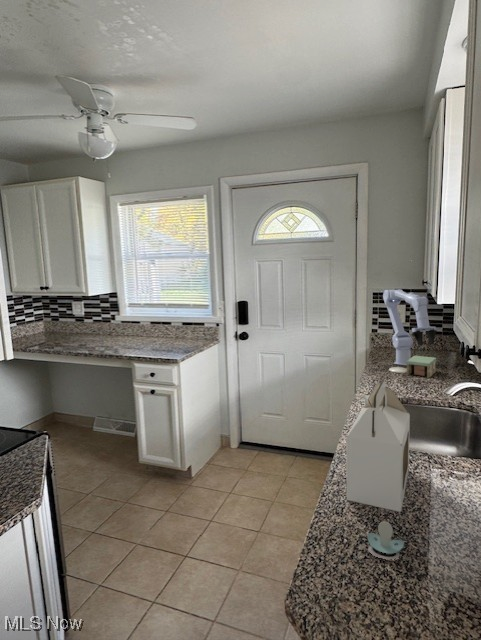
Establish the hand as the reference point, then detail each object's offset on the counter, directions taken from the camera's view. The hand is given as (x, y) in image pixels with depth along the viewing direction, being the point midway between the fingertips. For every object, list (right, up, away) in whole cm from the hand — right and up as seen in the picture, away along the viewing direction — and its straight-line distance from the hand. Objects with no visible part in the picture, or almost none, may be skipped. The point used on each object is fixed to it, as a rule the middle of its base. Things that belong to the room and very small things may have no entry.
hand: (426, 344), depth 214 cm
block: (-3, -15, 0) cm, 16 cm away
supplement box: (-49, -27, -68) cm, 88 cm away
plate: (-11, -15, +8) cm, 20 cm away
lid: (-3, -9, 0) cm, 9 cm away
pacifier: (-67, -37, -128) cm, 149 cm away
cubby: (-2, -15, +1) cm, 15 cm away
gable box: (-59, -33, -102) cm, 122 cm away
